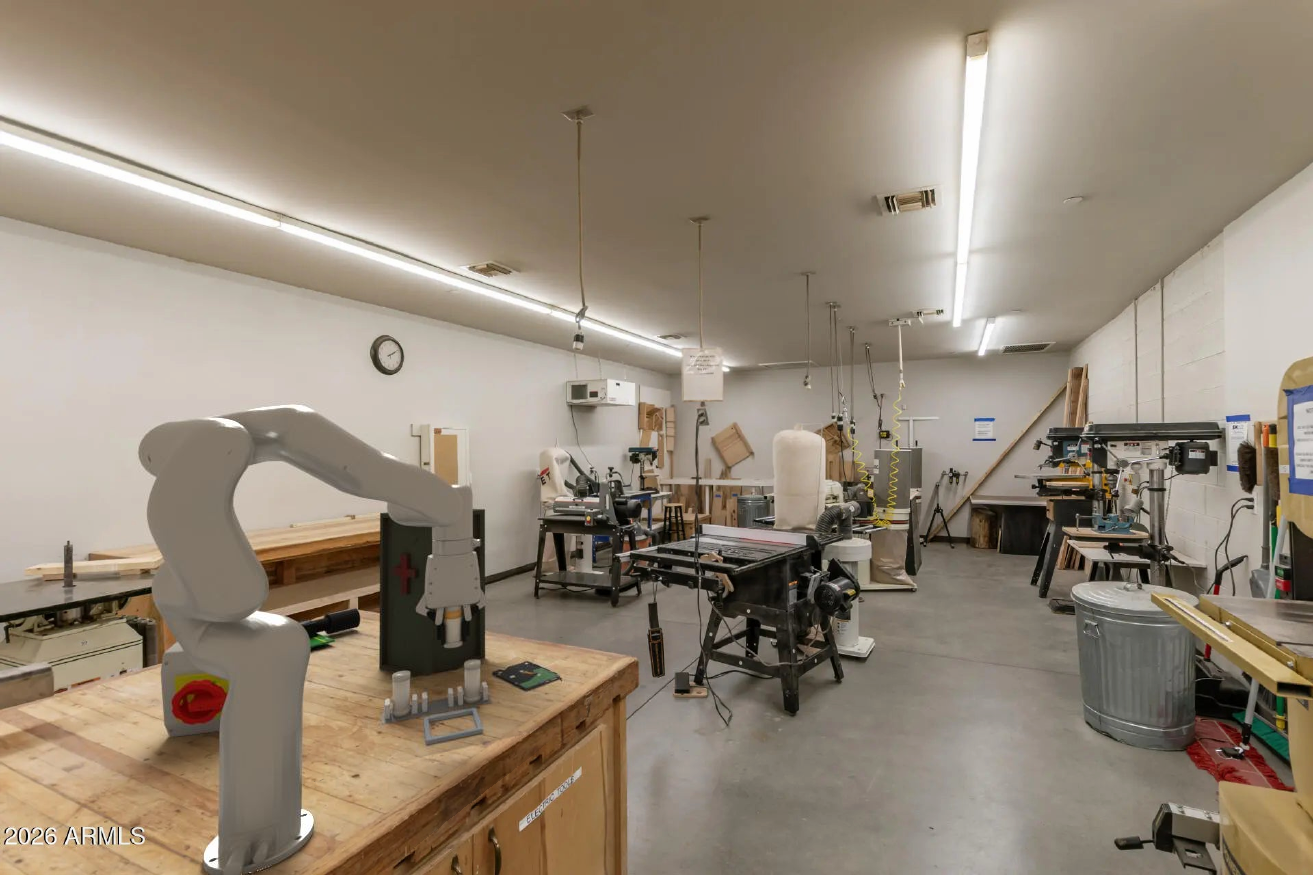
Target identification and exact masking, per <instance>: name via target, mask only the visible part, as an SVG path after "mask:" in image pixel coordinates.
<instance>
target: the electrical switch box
mask: <svg viewBox="0 0 1313 875" xmlns="http://www.w3.org/2000/svg"><path fill="white" fill-rule="evenodd" d="M160 681H161V697H162V698H161V700H162V710H163V712H162V713H163V723H164V727H165V729H166V732H167V734H168V737H170V738H174V737H182V736H191V735H201V734H206V733H207V734H208V732H209V733H216V732H217V733H218V732H220V720H221V714H222V710H223V706H224V703H225V701H226V698H227V695H228V691H229V681H227V680H224V679H222V678H219V677H215V676H213V675H210V674H207V673H205V672H203V671H201V670H200V669H198V668H197V667H196V666H195V665H194V664H193V663H192V662H191V661H190V659H189V658H188V657H187V655H186V654H185V652H184V651H183V649H182V648H181V646H180V644H179V643H178V641H176V642H175V643H174V644H173V645H171V646H170V647H169V648H168V649H167V650H166V651H164V652H163V654H162V659H161V667H160Z"/></svg>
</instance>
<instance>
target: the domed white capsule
mask: <svg viewBox="0 0 1313 875" xmlns="http://www.w3.org/2000/svg"><path fill="white" fill-rule="evenodd" d="M391 677H392V678H391V680H392V708H393V709H392V716H393V717H402V716H406V715H408V714H409V713H410V705H411V698H410V697H411V695H410V692H411V690H410V688H411V686H410V685H411V678H410V671H399V672H396V673H393V674H391Z"/></svg>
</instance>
